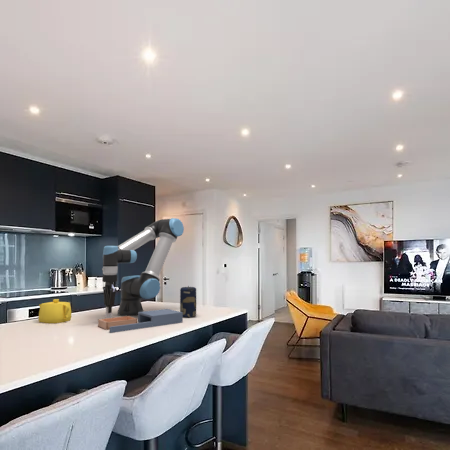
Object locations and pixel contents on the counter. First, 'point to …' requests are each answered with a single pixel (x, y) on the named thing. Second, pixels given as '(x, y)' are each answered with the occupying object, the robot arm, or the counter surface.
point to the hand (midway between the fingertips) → (108, 318)
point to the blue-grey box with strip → (152, 320)
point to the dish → (116, 322)
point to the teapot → (55, 312)
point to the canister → (188, 301)
